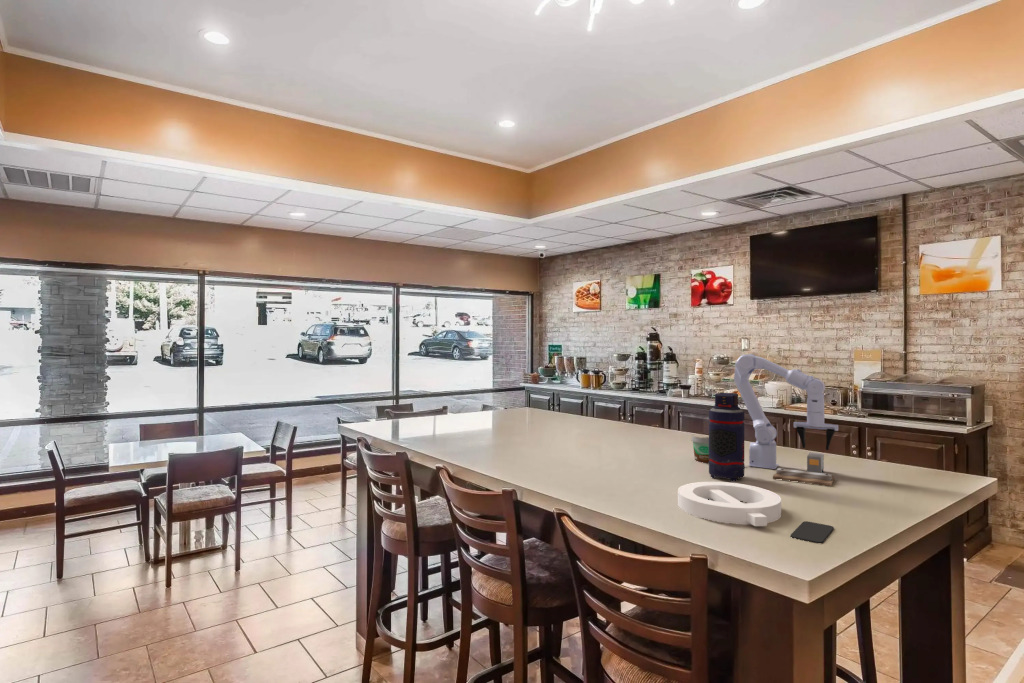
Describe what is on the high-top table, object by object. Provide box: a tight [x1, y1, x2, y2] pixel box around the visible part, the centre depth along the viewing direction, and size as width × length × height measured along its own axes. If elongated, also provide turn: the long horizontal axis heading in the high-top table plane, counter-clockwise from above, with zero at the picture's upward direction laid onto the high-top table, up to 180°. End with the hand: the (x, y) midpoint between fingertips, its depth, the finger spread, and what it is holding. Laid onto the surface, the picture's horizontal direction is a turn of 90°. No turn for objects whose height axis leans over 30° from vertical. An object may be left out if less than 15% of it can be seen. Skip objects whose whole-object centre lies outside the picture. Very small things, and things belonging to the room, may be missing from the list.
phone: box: [790, 520, 835, 544], centre depth 145 cm, size 7×1×15 cm
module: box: [806, 451, 825, 473], centre depth 210 cm, size 4×8×6 cm, turn 145°
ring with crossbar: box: [677, 481, 782, 527], centre depth 165 cm, size 28×28×5 cm
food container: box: [690, 435, 710, 464], centre depth 227 cm, size 12×6×10 cm, turn 73°
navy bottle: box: [708, 392, 745, 482], centre depth 203 cm, size 14×12×30 cm
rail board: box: [772, 467, 836, 487], centre depth 200 cm, size 18×12×3 cm, turn 55°
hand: (815, 448), depth 210 cm, fingers open, 7 cm apart
